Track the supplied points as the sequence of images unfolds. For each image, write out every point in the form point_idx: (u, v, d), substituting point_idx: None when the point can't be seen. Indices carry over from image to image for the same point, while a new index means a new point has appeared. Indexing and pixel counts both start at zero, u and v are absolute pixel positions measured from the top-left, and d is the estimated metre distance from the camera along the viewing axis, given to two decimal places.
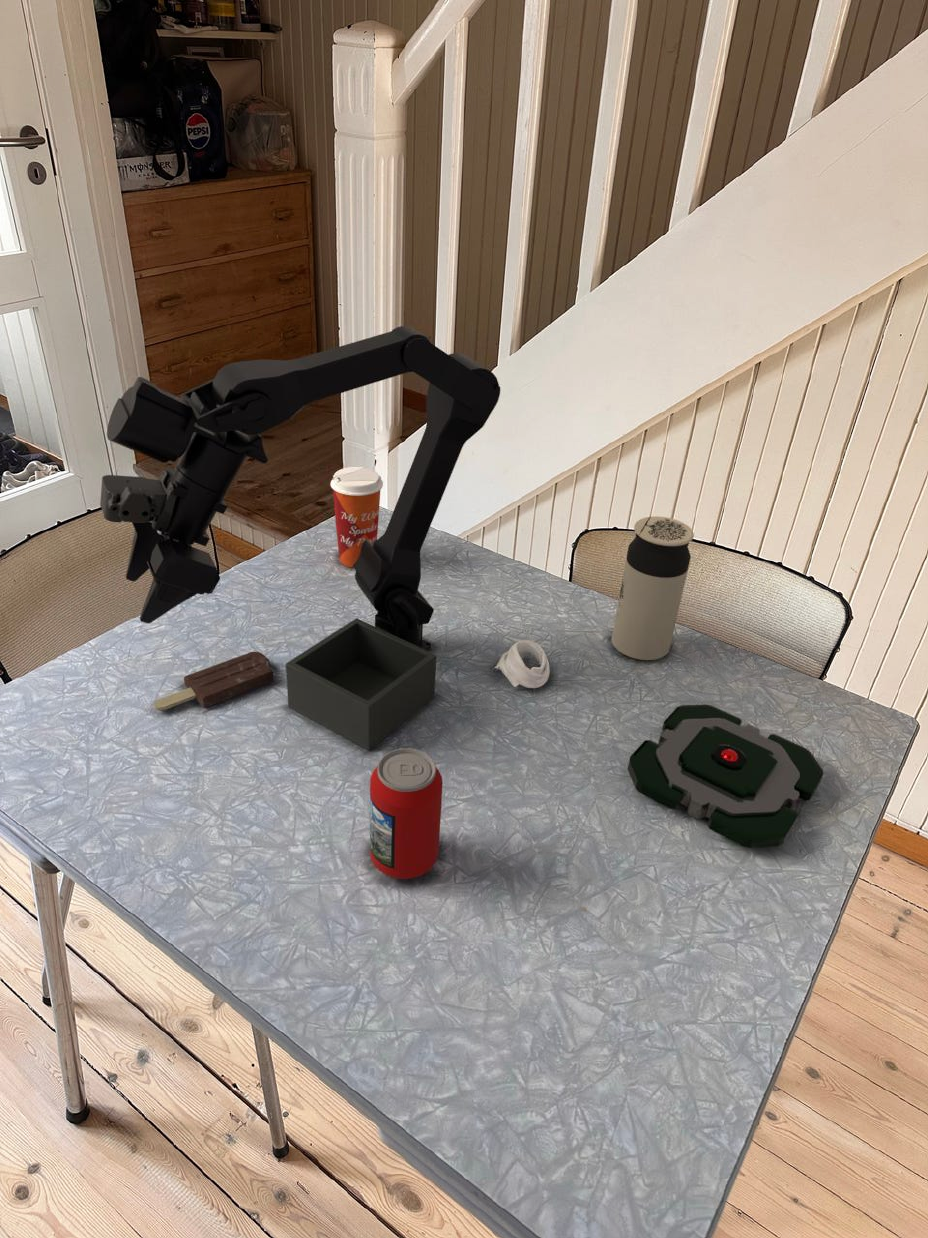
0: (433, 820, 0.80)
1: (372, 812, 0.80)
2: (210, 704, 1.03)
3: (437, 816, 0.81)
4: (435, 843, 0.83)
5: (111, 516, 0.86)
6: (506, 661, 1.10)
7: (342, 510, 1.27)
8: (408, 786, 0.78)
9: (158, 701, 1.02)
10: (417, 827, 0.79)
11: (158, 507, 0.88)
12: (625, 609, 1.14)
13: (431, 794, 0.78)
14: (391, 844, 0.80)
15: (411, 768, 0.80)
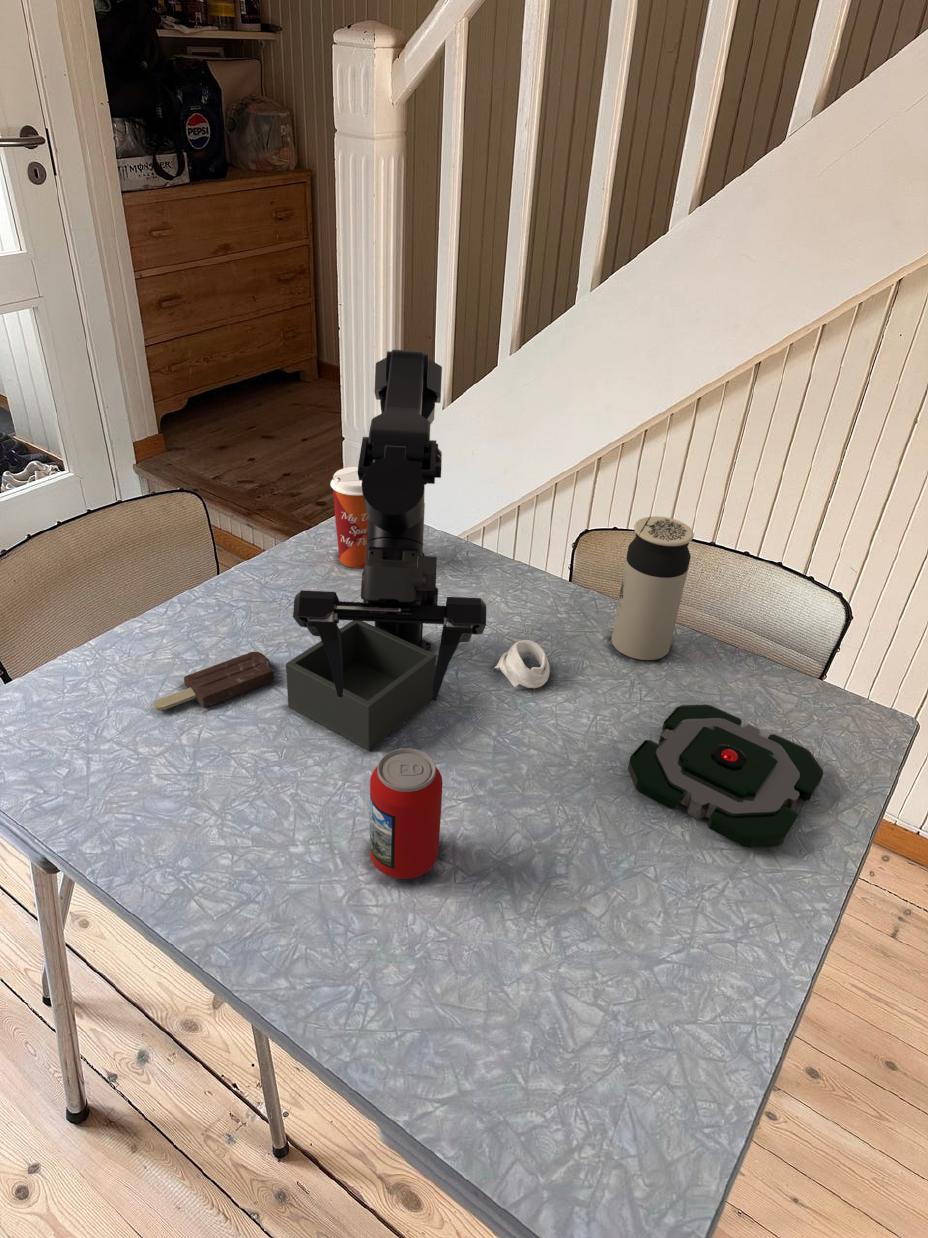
0: (433, 820, 0.80)
1: (372, 812, 0.80)
2: (210, 704, 1.03)
3: (437, 816, 0.81)
4: (435, 843, 0.83)
5: (414, 594, 0.80)
6: (506, 661, 1.10)
7: (342, 510, 1.27)
8: (408, 786, 0.78)
9: (158, 701, 1.02)
10: (417, 827, 0.79)
11: None
12: (625, 609, 1.14)
13: (430, 794, 0.78)
14: (391, 844, 0.80)
15: (411, 768, 0.80)
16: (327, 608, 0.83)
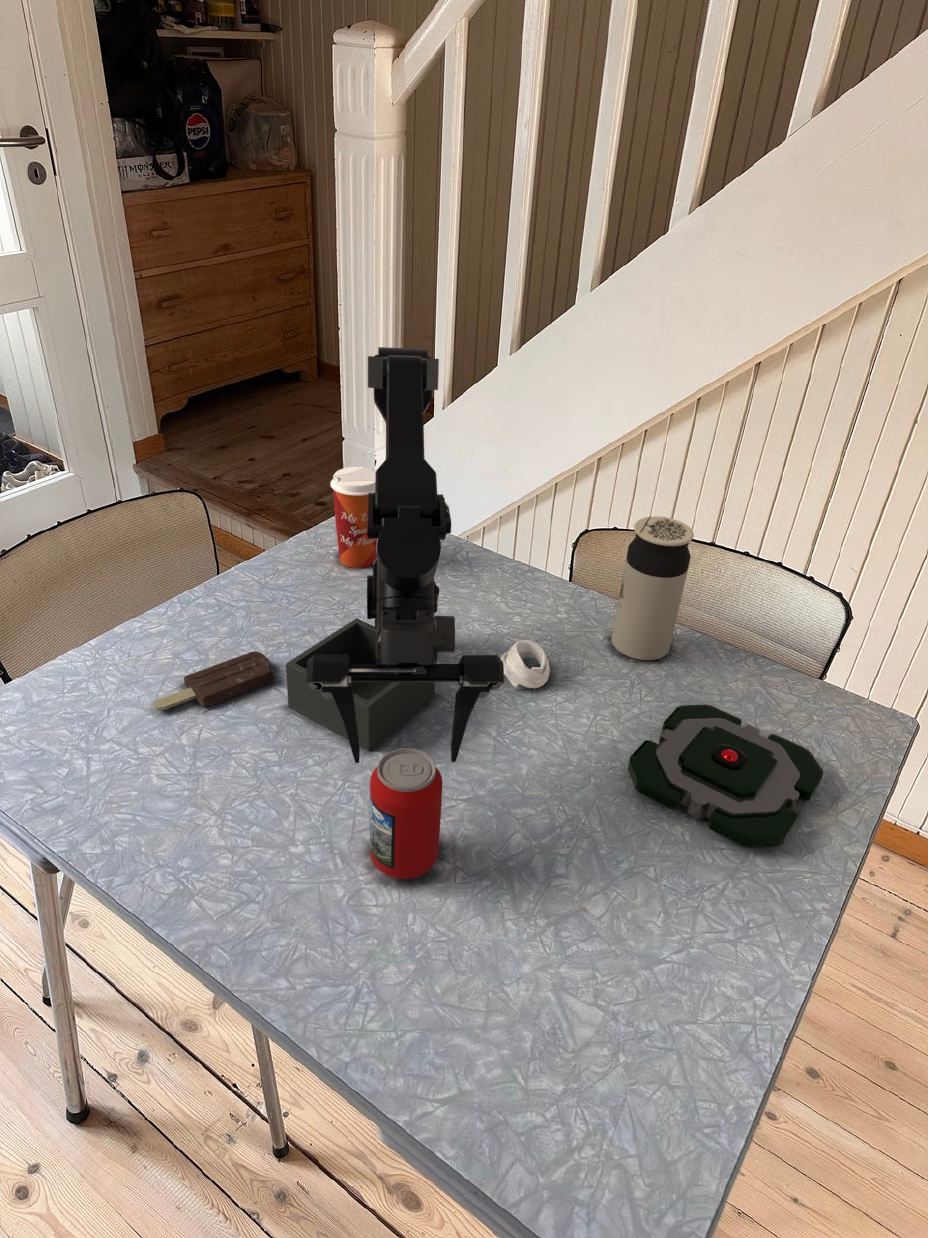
0: (433, 820, 0.80)
1: (372, 812, 0.80)
2: (210, 704, 1.03)
3: (437, 816, 0.81)
4: (435, 843, 0.83)
5: (433, 657, 0.78)
6: (506, 661, 1.10)
7: (342, 510, 1.27)
8: (408, 786, 0.78)
9: (158, 701, 1.02)
10: (417, 827, 0.79)
11: None
12: (625, 609, 1.14)
13: (431, 794, 0.78)
14: (391, 844, 0.80)
15: (411, 768, 0.80)
16: (342, 672, 0.81)
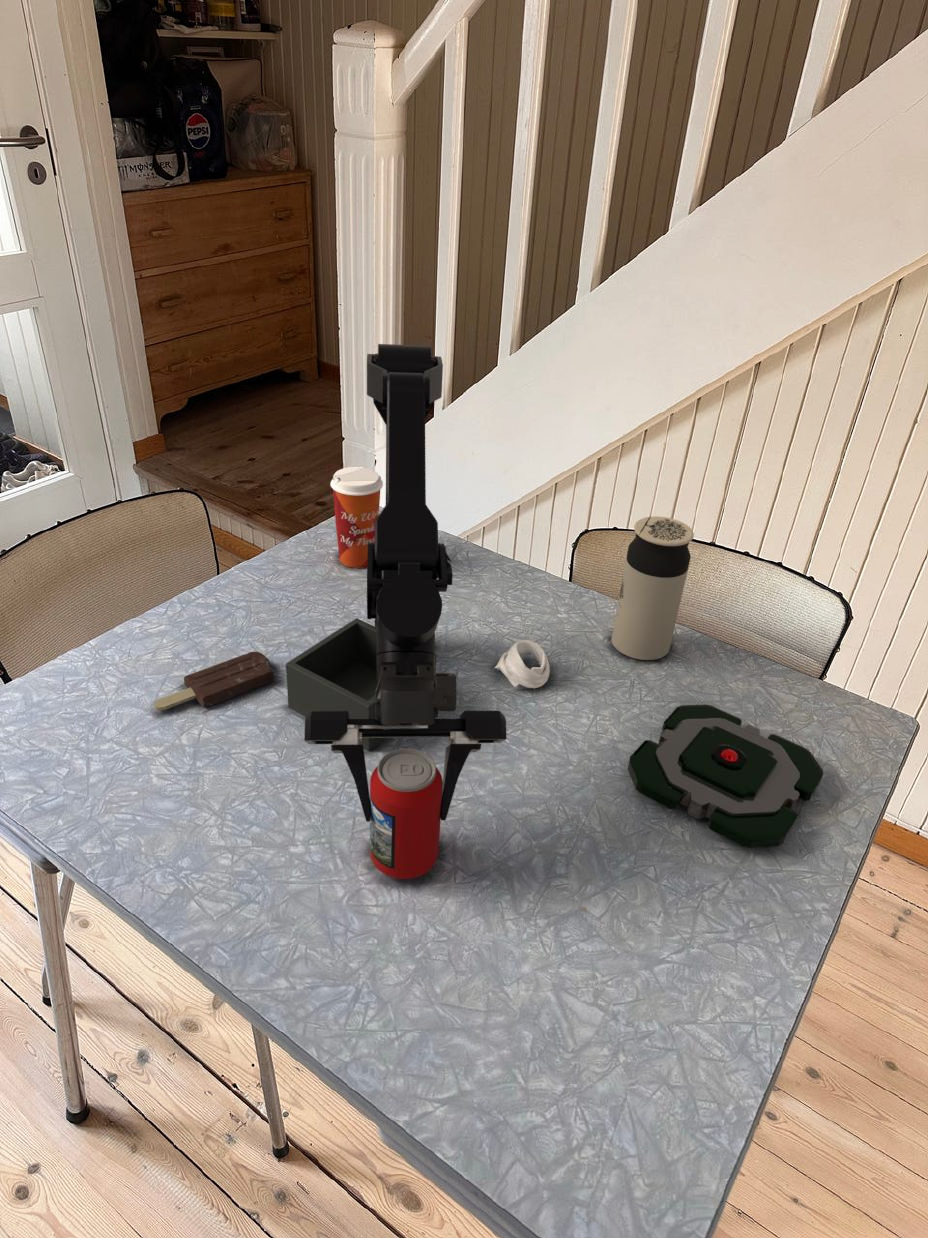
0: (433, 820, 0.80)
1: (372, 812, 0.80)
2: (210, 704, 1.03)
3: (437, 816, 0.81)
4: (435, 843, 0.83)
5: (434, 717, 0.76)
6: (506, 661, 1.10)
7: (342, 510, 1.27)
8: (408, 786, 0.78)
9: (158, 701, 1.02)
10: (418, 828, 0.79)
11: None
12: (625, 609, 1.14)
13: (431, 794, 0.78)
14: (391, 844, 0.80)
15: (411, 769, 0.80)
16: (340, 730, 0.79)
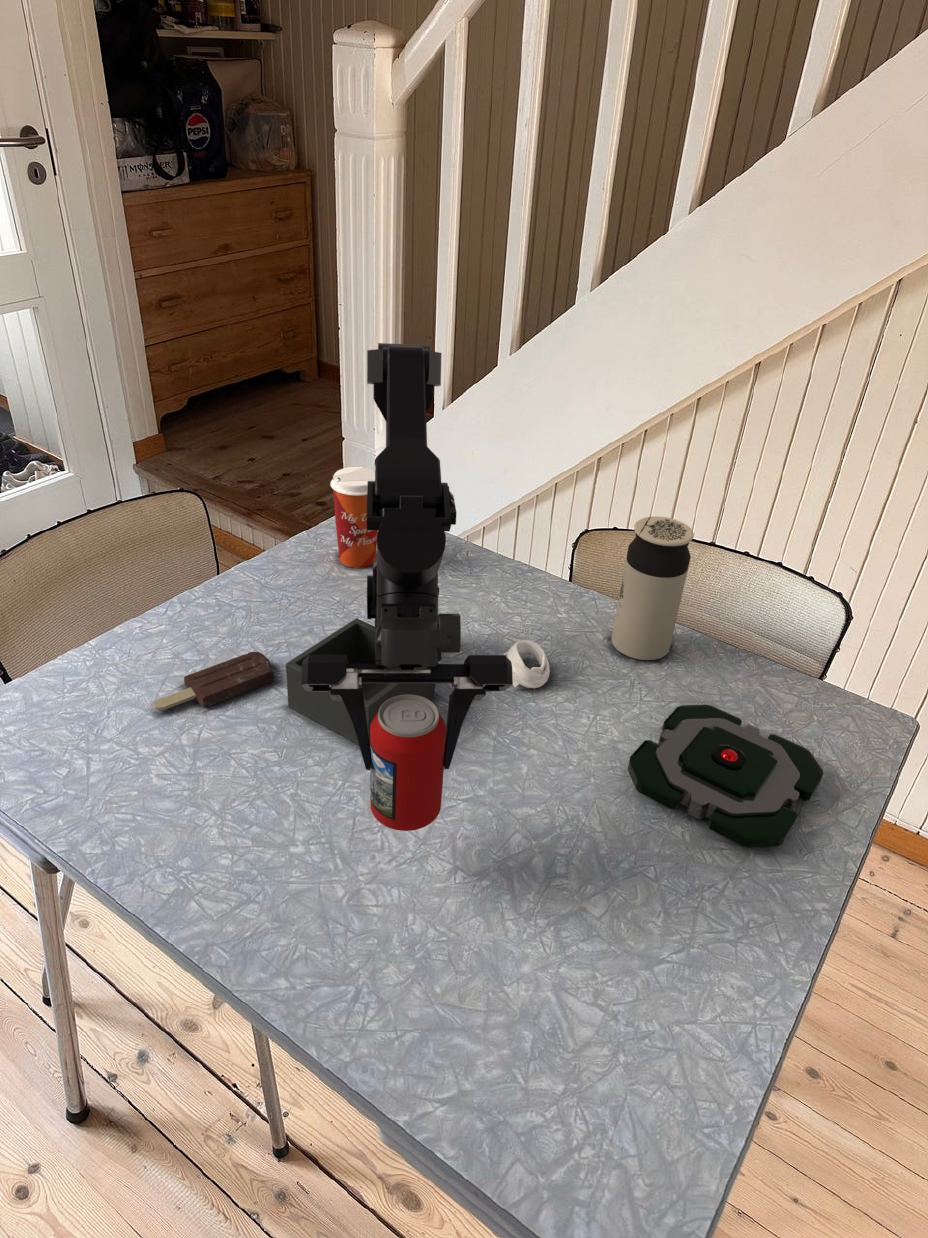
0: (436, 768, 0.77)
1: (372, 760, 0.77)
2: (210, 704, 1.03)
3: (440, 765, 0.77)
4: (438, 794, 0.79)
5: (437, 658, 0.73)
6: None
7: (342, 510, 1.27)
8: (410, 731, 0.74)
9: (158, 701, 1.02)
10: (420, 776, 0.76)
11: None
12: (625, 609, 1.14)
13: (433, 740, 0.75)
14: (392, 793, 0.77)
15: (413, 714, 0.76)
16: (339, 674, 0.76)
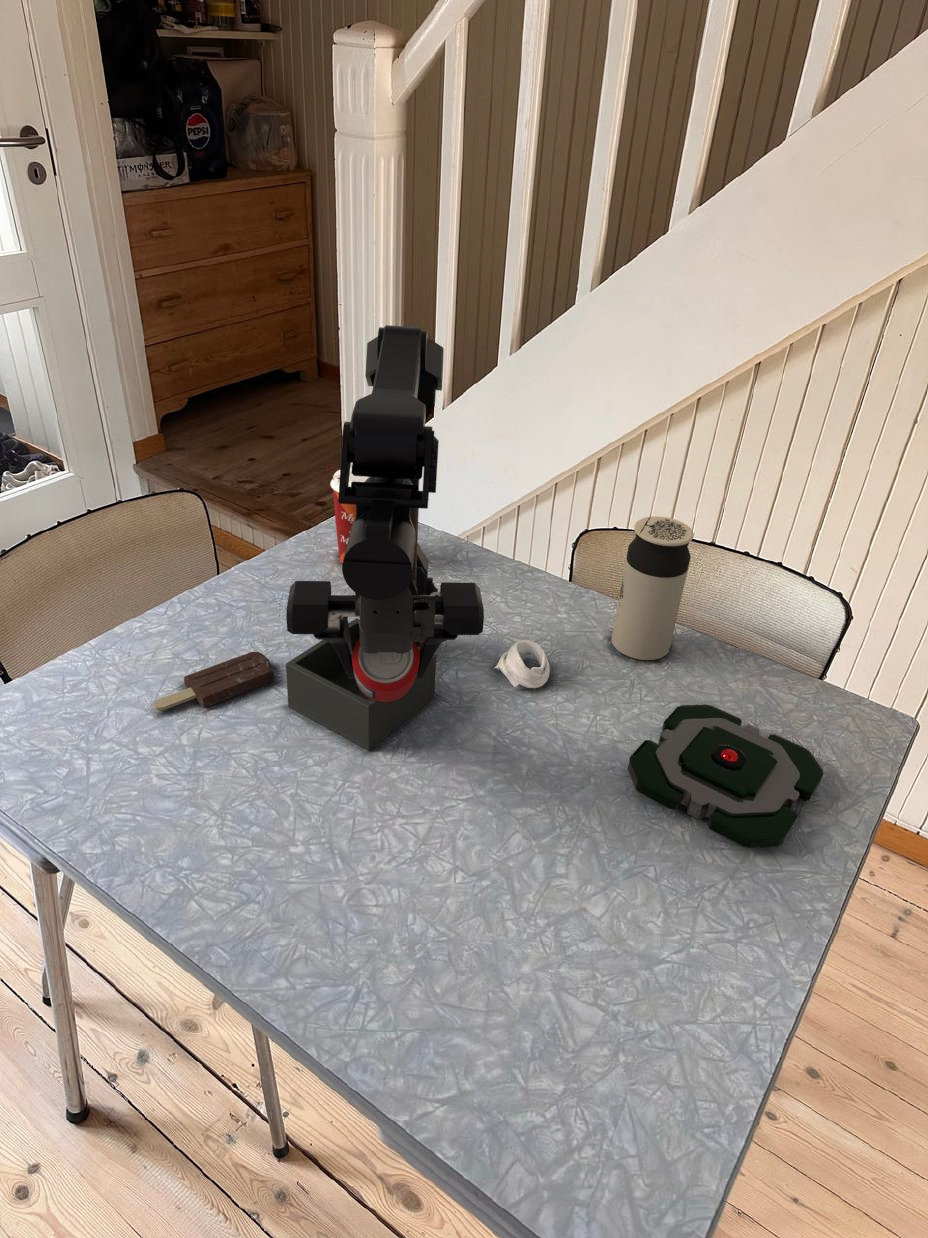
0: (409, 684, 0.88)
1: (354, 674, 0.88)
2: (210, 704, 1.03)
3: (414, 678, 0.89)
4: None
5: (411, 645, 0.78)
6: (506, 661, 1.10)
7: (342, 510, 1.27)
8: (387, 677, 0.84)
9: (158, 701, 1.02)
10: (395, 693, 0.88)
11: None
12: (625, 609, 1.14)
13: (407, 679, 0.85)
14: (372, 695, 0.90)
15: (390, 654, 0.84)
16: (322, 626, 0.81)
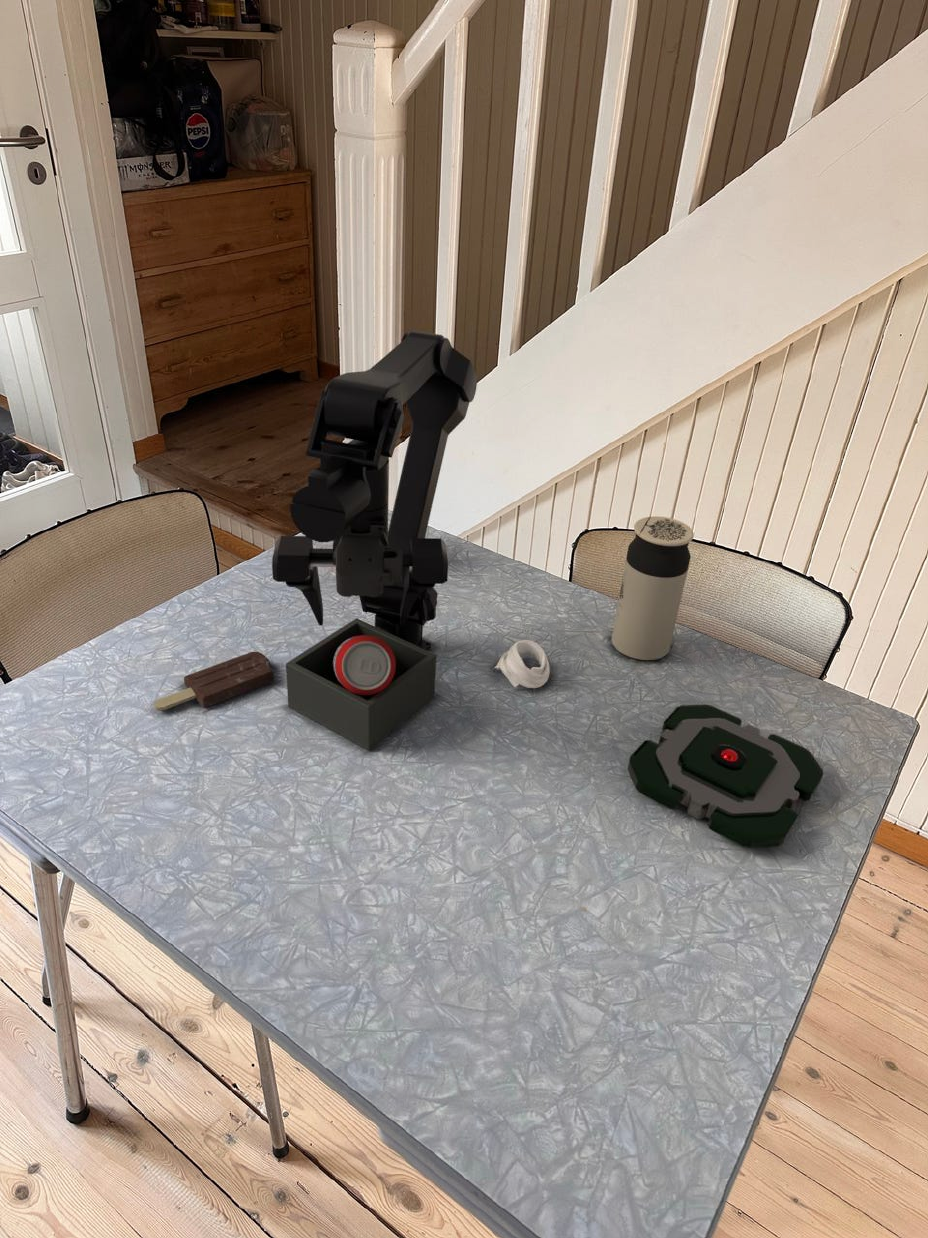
0: None
1: (335, 671, 0.99)
2: (210, 704, 1.03)
3: None
4: None
5: (382, 589, 0.89)
6: (506, 661, 1.10)
7: None
8: (363, 685, 0.95)
9: (158, 701, 1.02)
10: None
11: None
12: (625, 609, 1.14)
13: (381, 688, 0.97)
14: None
15: (370, 665, 0.95)
16: (303, 575, 0.92)
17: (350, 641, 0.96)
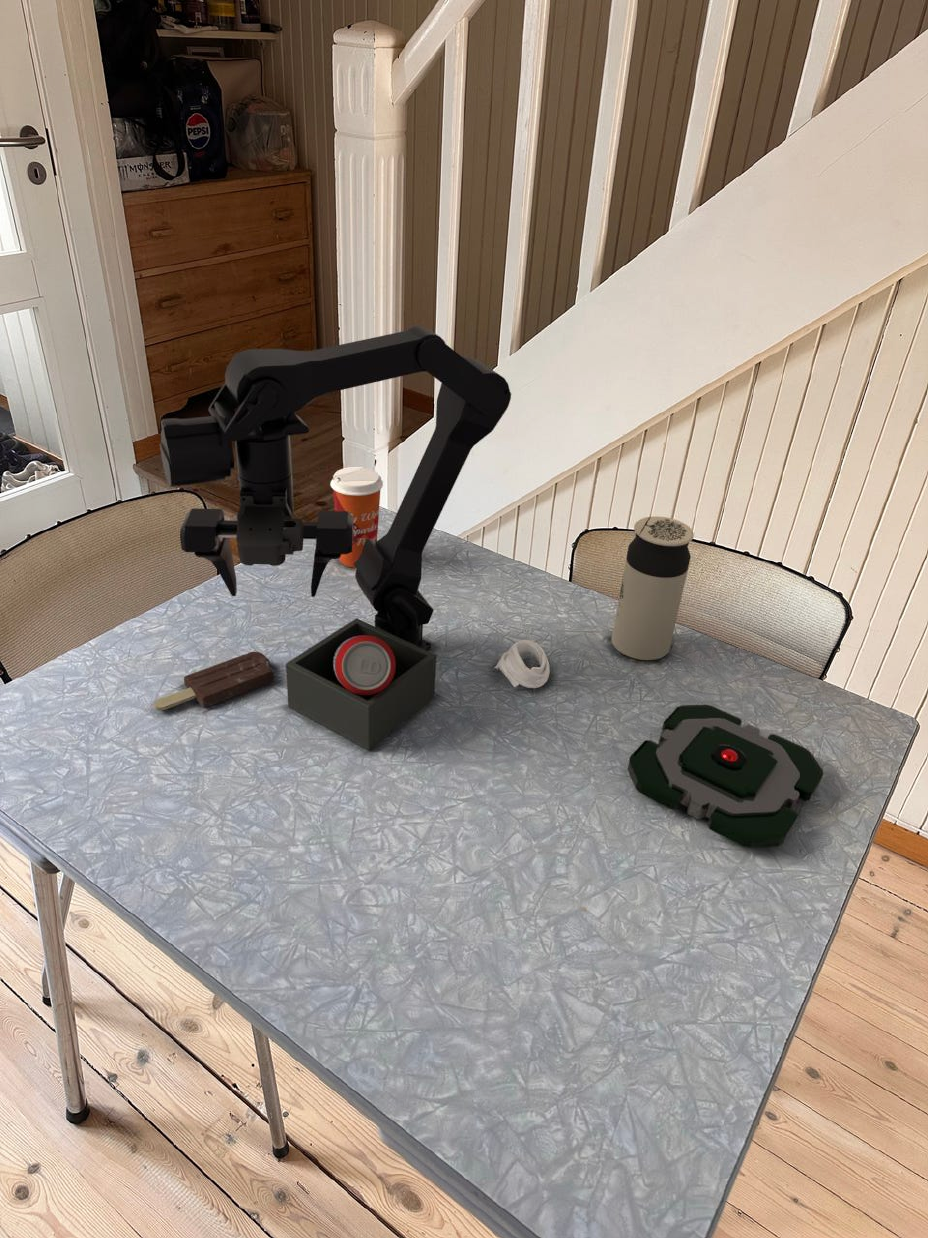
0: None
1: (335, 671, 0.99)
2: (210, 704, 1.03)
3: None
4: None
5: (283, 558, 0.92)
6: (506, 661, 1.10)
7: (342, 510, 1.27)
8: (363, 685, 0.95)
9: (158, 701, 1.02)
10: None
11: None
12: (625, 609, 1.14)
13: (381, 688, 0.97)
14: None
15: (370, 665, 0.95)
16: (210, 545, 0.95)
17: (350, 641, 0.96)
